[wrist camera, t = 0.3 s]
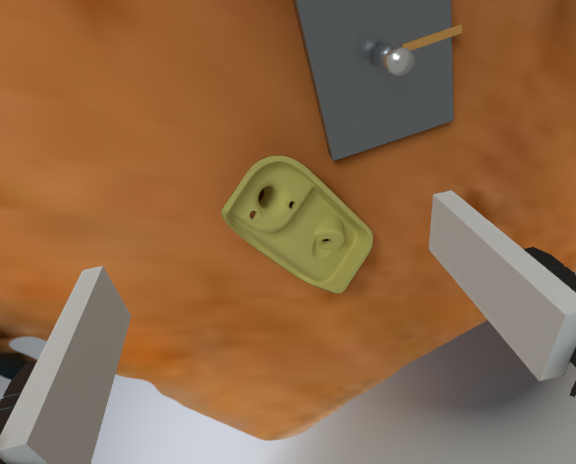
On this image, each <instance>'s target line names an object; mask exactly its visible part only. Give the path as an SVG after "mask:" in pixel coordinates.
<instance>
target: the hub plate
mask: <svg viewBox="0 0 576 464" xmlns="http://www.w3.org/2000/svg"><path fill="white" fill-rule="evenodd" d="M293 1H294V6H295V10H296V14H297V18H298V23H299V27H300V31H301V36H302V40H303V44H304V48H305V53H306V57H307V61H308V65H309V70H310V74H311V78H312V83H313V87H314V91H315V95H316V100H317V104H318V108H319V112H320V117H321V121H322V125H323V130H324V134H325V138H326V142H327V147H328V151H329V155H330V157H331V159H332V160H333V161H335V160H338V159H341V158H344V157H347V156H350V155H353V154H356V153H359V152H362V151H365V150H368V149H371V148H374V147H377V146H380V145H383V144H386V143H389V142H392V141H395V140H398V139H401V138H403V137H406V136H409V135H412V134H415V133H418V132H421V131H424V130H427V129H430V128H433V127H436V126H439V125H442V124H445V123H448V122H451V121H454V118H453V72H452V36H455V35H458V34H461V33H462V24H460V25H457V26H454V27H452V26H451V0H293Z"/></svg>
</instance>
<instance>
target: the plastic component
mask: <svg viewBox="0 0 576 464" xmlns="http://www.w3.org/2000/svg"><path fill="white" fill-rule="evenodd" d="M263 188H264V196H263V198H262V200H261V201H259V202H258V196H259V193H260V191H261V190H262V189H263ZM291 201H292V202H293V204H292V205H291V207H290V208H289V203H290V202H291ZM251 211H255V216H254V217H253V218H250V212H251ZM221 214H222V217H223V219H224V220H225V221H226V223H227V224H228V225H229V226H230V227H231V228H232V229H233V230H234V231H235V232H236V233H237V234H238V235H239V236H240V237H242V238H243V239H244V240H245V241H246V242H248V243H249V244H250V245H252V246H253V247H254V248H256V249H257V250H258V251H260V252H261V253H263V254H264V255H266V256H267V257H269V258H270V259H271V260H273V261H274V262H276V263H277V264H279V265H280V266H282V267H283V268H284V269H286V270H287V271H289V272H290V273H292V274H293V275H295V276H296V277H298V278H300V279H301V280H303V281H305V282H307V283H309V284H311V285H313V286H316V287H319V288H321V289H324V290H327V291H330V292H333V293H335V294H339V293H342V292H343V291H344V290H345V289H346V288H347V286H348V285H349V283H350V282H351V280H352V279H353V277H354V275H355V274H356V272H357V271H358V269H359V268H360V266H361V265H362V263H363V262H364V260H365V258H366V257H367V255H368V254H369V252H370V250H371V248H372V244H373V235H372V232H371V230H370V228H369V227H368V226H367V225H366V224H365V223H364V222H363V221H361V220H360V219H359V218H358V217H357V216H356V215H355V214H354V213H353V212H352V211H351V210H350V209H349V208H348V207H347V206H346V205H345V204H344V203H343V202H342V201H341V200H340V199H339V198H338V197H337V196H336V195H335V194H334V193H333V192H332V191H331V190H330V189H329V188H328V187H327V186H326V185H325V184H324V183H323V182H322V181H320V180H319V179H318V178H317V177H316V176H315V175H314V174H313V173H312V172H311V171H310V170H309V169H307V168H306V167H305V166H304V165H302V164H301V163H299V162H298V161H296V160H294V159H292V158H289V157H286V156H270V157H266V158H264V159H262V160H260V161H258V162H256V163H255V164H254V165H253V166H252V167H251V168H250V169H249V171H248V172H247V173H246V175H245V176H244V177H243V179H242V180H241V182H240V183H239V185H238V187H237V188H236V190H235V191H234V193H233V194H232V196H231V197H230V199H229V200H228V202H227V203H226V205H225V206H224V207H223V209H222V211H221ZM324 239H329V241H323V240H324Z"/></svg>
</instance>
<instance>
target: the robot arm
mask: <svg viewBox="0 0 576 464" xmlns="http://www.w3.org/2000/svg"><path fill="white" fill-rule="evenodd" d="M429 250H430V251H431V253H432V254H433V255H434V256H435V257H436V258H437V260H438V261H439V262H440V263H441V264H442V266H443V267H444V268H445V269H446V270H447V272H448V273H449V274H450V275H451V276H452V278H453V279H454V280H455V281H456V282H457V284H458V285H459V286H460V287H461V288H462V290H463V291H464V292H465V293H466V294H467V295H468V297H469V298H470V299H471V300H472V301H473V303H474V304H475V305H476V306H477V307H478V309H479V310H480V311H481V312H482V313H483V315H484V316H485V317H486V318H487V319H488V321H489V322H490V323H491V324H492V325H493V326H494V327H495V329H496V330H497V331H498V332H499V334H500V335H501V336H502V337H503V338H504V340H505V341H506V342H507V343H508V344H509V346H510V347H511V348H512V349H513V350H514V352H515V353H516V354H517V355H518V356H519V357H520V359H521V360H522V361H523V362H524V363H525V365H526V366H527V367H528V368H529V369H530V371H531V372H532V373H533V374H534V375H535V377H536V378H537V379H538V380H539V381H542V380H546V379H550V378H554V377H558V376H563V375H564V374H565V372H566V370H567V368H568V366H569V364H570V362H571V363H572V364H573V365H574V366H575V367H576V275H575V273H574V272H572V271H571V270H570V269H569V268H567V267H564V265H563V264H562V263H561V262H559V261H558V260H557V259H556V258H554V257H553V256H552V255H550V254H548V253H546V252H543V251H541V250H539V249H537V248H534V247H531V248H527V249H522V248H521V247H520V246H519V245H517V244H516V243H515V242H514V241H513V240H511V239H510V238H509V237H508V236H506V235H505V234H504V233H503V232H502V231H500V230H499V229H498V228H497V227H496V226H494V225H493V224H492V223H491V222H489V221H488V220H487V219H486V218H485V217H483V216H482V215H481V214H480V213H479V212H477V211H476V210H475V209H474V208H472V207H471V206H470V205H469V204H468V203H466V202H465V201H464V200H463V199H462V198H460V197H459V196H458V195H457V194H455V193H454V192H453V191H452V190H451V191H446V192H442V193H437V194H433V204H432V216H431V228H430V240H429ZM130 319H131V315H130V313H129V311H128V309H127V308H126V306H125V304H124V302H123V301H122V299H121V297H120V295H119V293H118V292H117V290H116V288H115V286H114V285H113V283H112V281H111V279H110V277H109V276H108V274H107V272H106V270H105V269H104V267H103V266H100V267H96V268H91V269H86V270H83V271H82V273H81V275H80V277H79V279H78V281H77V283H76V285H75V287H74V289H73V291H72V293H71V295H70V297H69V299H68V301H67V303H66V305H65V307H64V309H63V311H62V313H61V315H60V317H59V319H58V321H57V323H56V325H55V327H54V329H53V331H52V333H51V335H50V337H49V339H48V341H47V343H46V345H45V347H44V349H43V351H42V353H41V355H40V357H39V359H38V361H34V362H30V363H26V364H25V366H24V367H23V368H22V369H21V370H20V371H19V372H18V373H17V374H16V375H15V377H14V378H13V379H12V380H11V382H10V384H9V386H8V388H7V390H6V391H5V394H4V395H3V396H4V398H3V399H1V401H0V464H91V460H92V457H93V453H94V449H95V446H96V442H97V439H98V435H99V431H100V427H101V424H102V420H103V417H104V413H105V409H106V406H107V402H108V398H109V395H110V391H111V387H112V384H113V380H114V377H115V373H116V369H117V366H118V362H119V359H120V355H121V351H122V348H123V344H124V340H125V337H126V333H127V329H128V326H129V322H130ZM575 395H576V381H575V384H574V386H573V388H572V390H571V393H570V396H573V397H575Z"/></svg>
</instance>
